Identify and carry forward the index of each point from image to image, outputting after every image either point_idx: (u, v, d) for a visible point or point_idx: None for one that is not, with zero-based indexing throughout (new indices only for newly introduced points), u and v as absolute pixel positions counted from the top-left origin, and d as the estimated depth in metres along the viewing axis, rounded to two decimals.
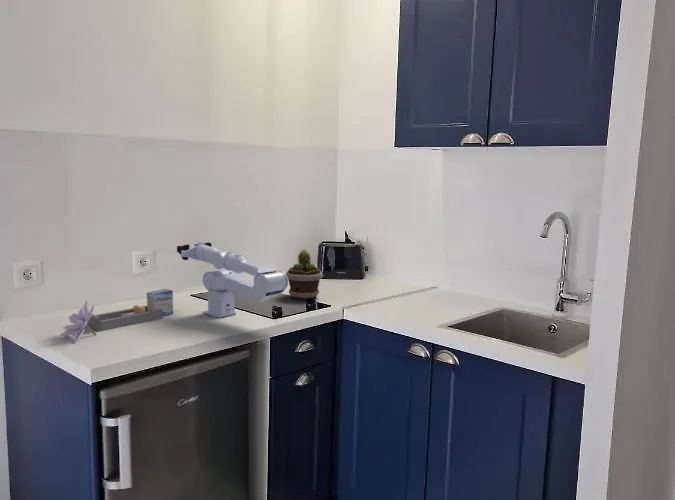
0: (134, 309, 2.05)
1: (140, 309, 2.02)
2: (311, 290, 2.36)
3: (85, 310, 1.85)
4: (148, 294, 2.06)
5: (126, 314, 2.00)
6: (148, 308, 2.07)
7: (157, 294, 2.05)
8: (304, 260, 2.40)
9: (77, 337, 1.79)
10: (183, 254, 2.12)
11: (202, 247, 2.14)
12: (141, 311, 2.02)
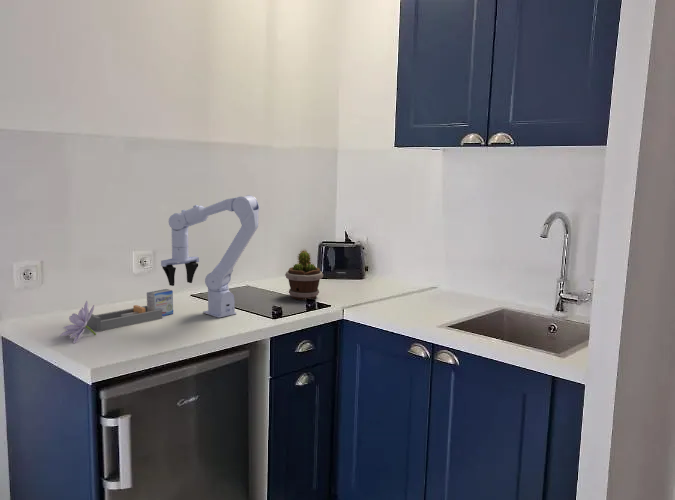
0: (134, 309, 2.05)
1: (140, 309, 2.02)
2: (311, 290, 2.36)
3: (85, 310, 1.85)
4: (148, 294, 2.06)
5: (126, 314, 2.00)
6: (148, 308, 2.07)
7: (157, 294, 2.05)
8: (304, 260, 2.40)
9: (77, 337, 1.79)
10: (162, 262, 2.08)
11: None
12: (141, 311, 2.02)
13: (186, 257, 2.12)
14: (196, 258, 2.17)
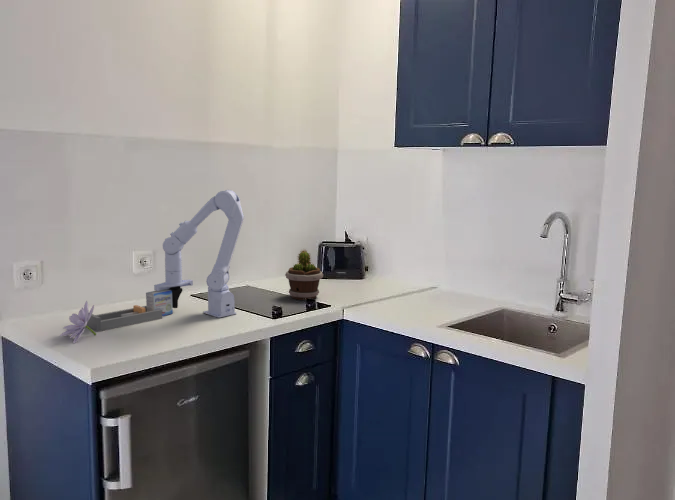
0: (134, 309, 2.05)
1: (140, 309, 2.02)
2: (311, 290, 2.36)
3: (85, 310, 1.85)
4: (147, 294, 2.06)
5: (126, 314, 2.00)
6: (147, 308, 2.07)
7: (156, 294, 2.05)
8: (304, 260, 2.40)
9: (77, 337, 1.79)
10: (155, 286, 2.07)
11: None
12: (141, 311, 2.02)
13: (179, 281, 2.11)
14: (190, 281, 2.16)
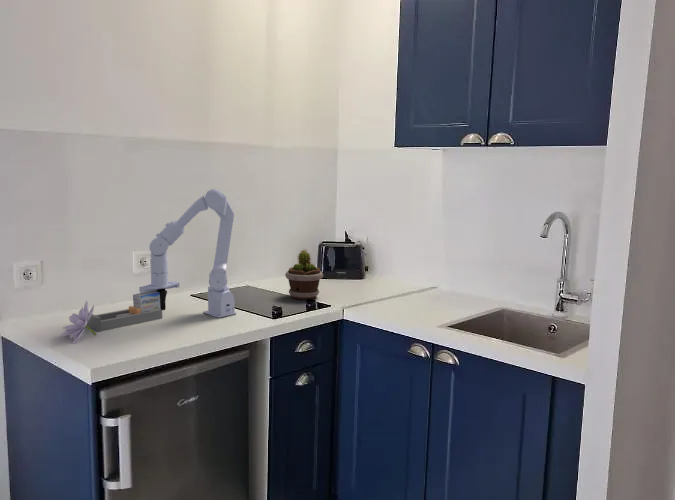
0: (129, 310, 2.03)
1: (135, 310, 2.01)
2: (311, 290, 2.36)
3: (85, 310, 1.85)
4: (134, 296, 2.03)
5: (121, 315, 1.98)
6: None
7: (143, 297, 2.02)
8: (304, 260, 2.40)
9: (77, 337, 1.79)
10: (141, 288, 2.03)
11: None
12: (136, 312, 2.00)
13: (165, 283, 2.07)
14: (176, 283, 2.12)
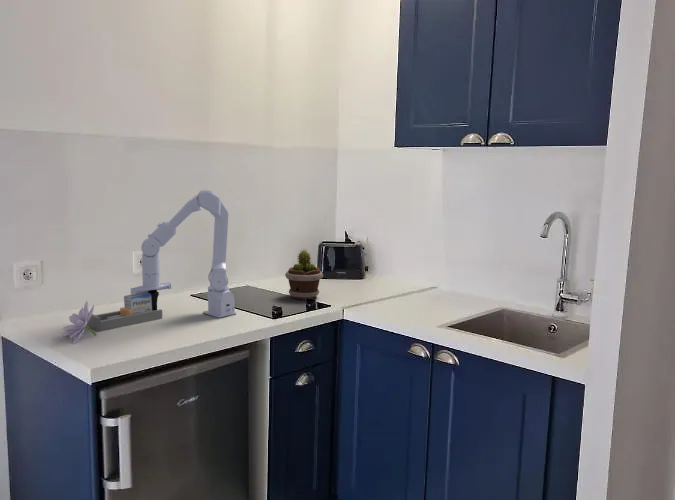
0: (121, 311, 2.01)
1: (127, 311, 1.98)
2: (311, 290, 2.36)
3: (85, 310, 1.85)
4: (125, 298, 2.00)
5: (112, 317, 1.96)
6: None
7: (134, 298, 1.99)
8: (304, 260, 2.40)
9: (77, 337, 1.79)
10: (132, 290, 2.01)
11: None
12: (128, 314, 1.98)
13: (157, 284, 2.05)
14: (168, 284, 2.10)
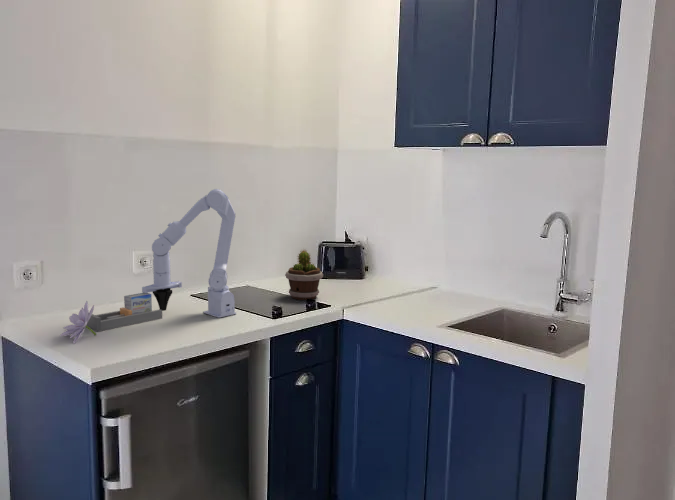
0: (121, 311, 2.01)
1: (126, 312, 1.98)
2: (311, 290, 2.36)
3: (85, 310, 1.85)
4: (125, 298, 2.00)
5: (112, 317, 1.96)
6: None
7: (134, 298, 1.99)
8: (304, 260, 2.40)
9: (77, 337, 1.79)
10: (143, 288, 2.04)
11: None
12: (127, 314, 1.98)
13: (168, 283, 2.08)
14: (179, 283, 2.13)
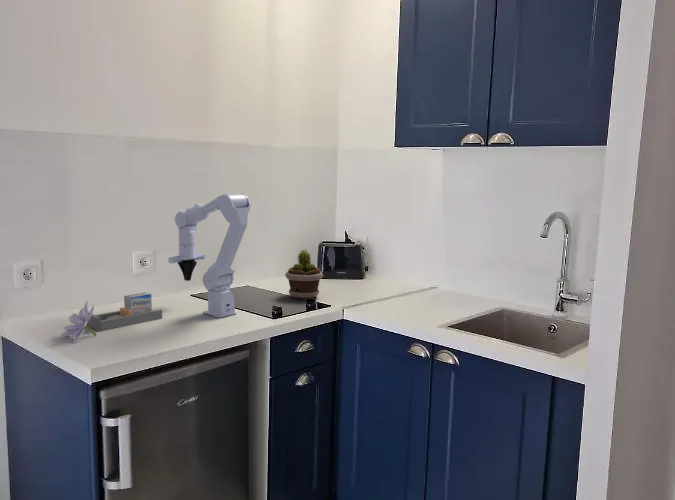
0: (121, 311, 2.01)
1: (126, 312, 1.98)
2: (311, 290, 2.36)
3: (85, 310, 1.85)
4: (125, 298, 2.00)
5: (112, 317, 1.96)
6: None
7: (134, 298, 1.99)
8: (304, 260, 2.40)
9: (77, 337, 1.79)
10: (170, 259, 2.15)
11: None
12: (127, 314, 1.98)
13: (193, 254, 2.19)
14: (202, 255, 2.24)
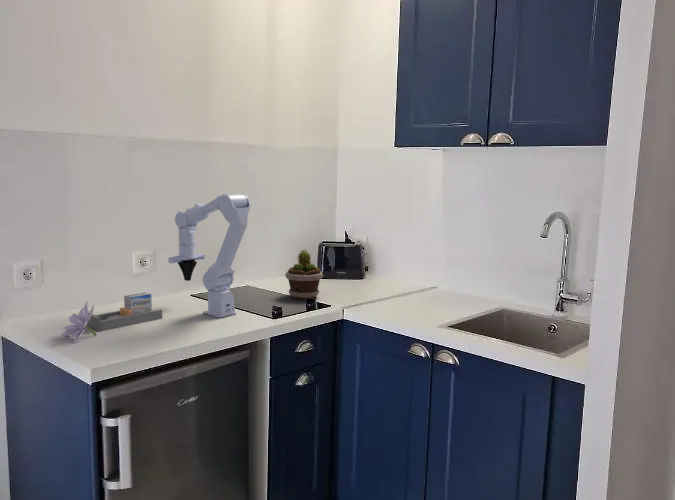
0: (121, 311, 2.01)
1: (126, 312, 1.98)
2: (311, 290, 2.36)
3: (85, 310, 1.85)
4: (125, 298, 2.00)
5: (112, 317, 1.96)
6: None
7: (134, 298, 1.99)
8: (304, 260, 2.40)
9: (77, 337, 1.79)
10: (170, 259, 2.15)
11: None
12: (127, 314, 1.98)
13: (193, 254, 2.19)
14: (202, 255, 2.24)
